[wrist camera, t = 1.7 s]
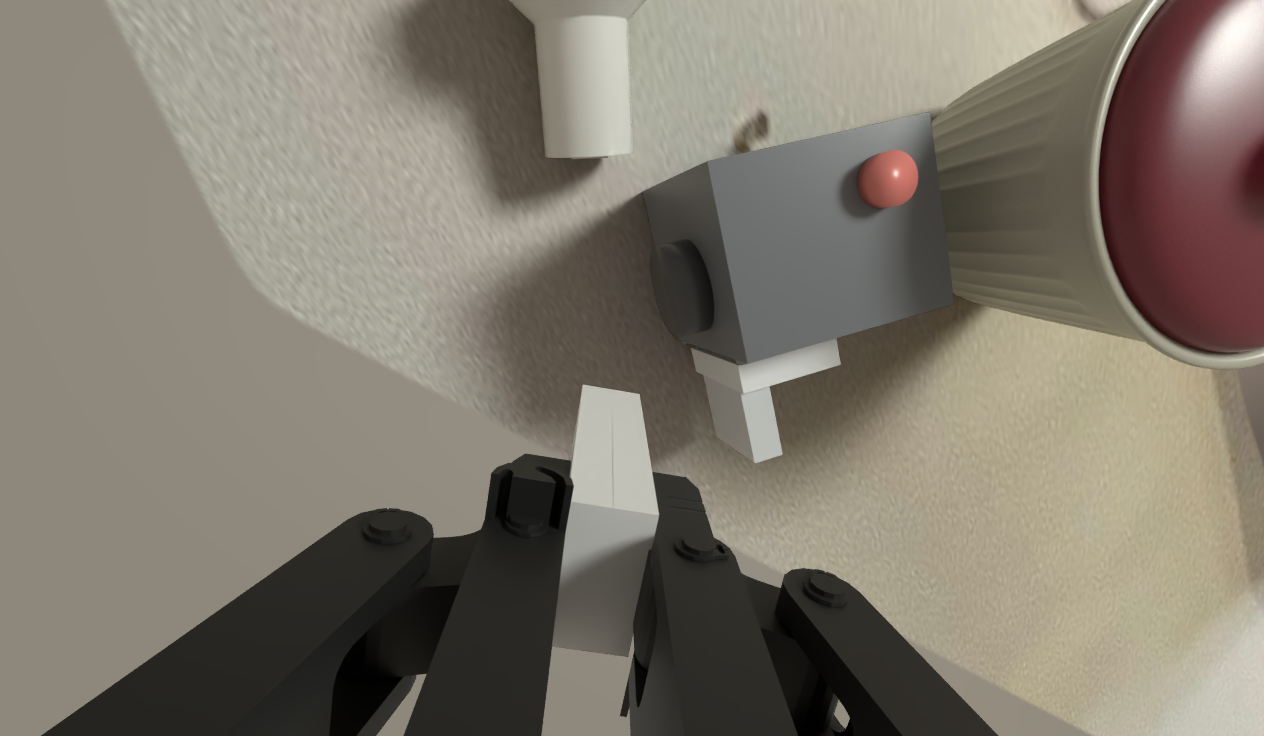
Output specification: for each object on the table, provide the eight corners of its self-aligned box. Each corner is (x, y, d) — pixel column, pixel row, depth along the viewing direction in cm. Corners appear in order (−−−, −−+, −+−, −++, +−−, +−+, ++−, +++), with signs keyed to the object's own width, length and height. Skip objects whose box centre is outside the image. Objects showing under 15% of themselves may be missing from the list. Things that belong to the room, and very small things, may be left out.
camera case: (616, 197, 37) (679, 165, 26) (809, 153, 40) (945, 106, 28) (652, 351, 39) (725, 385, 28) (833, 301, 42) (970, 313, 30)
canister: (802, 170, 40) (1140, 67, 19) (1008, -1, 41) (1521, -262, 21) (940, 386, 44) (1327, 485, 24) (1121, 225, 46) (1626, 191, 26)
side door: (690, 347, 38) (737, 365, 32) (773, 324, 39) (836, 336, 33) (708, 431, 40) (758, 465, 33) (788, 406, 41) (852, 435, 34)
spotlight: (651, -70, 34) (667, -124, 27) (656, 152, 38) (672, 159, 31) (500, -66, 34) (474, -118, 27) (522, 158, 38) (505, 167, 31)
